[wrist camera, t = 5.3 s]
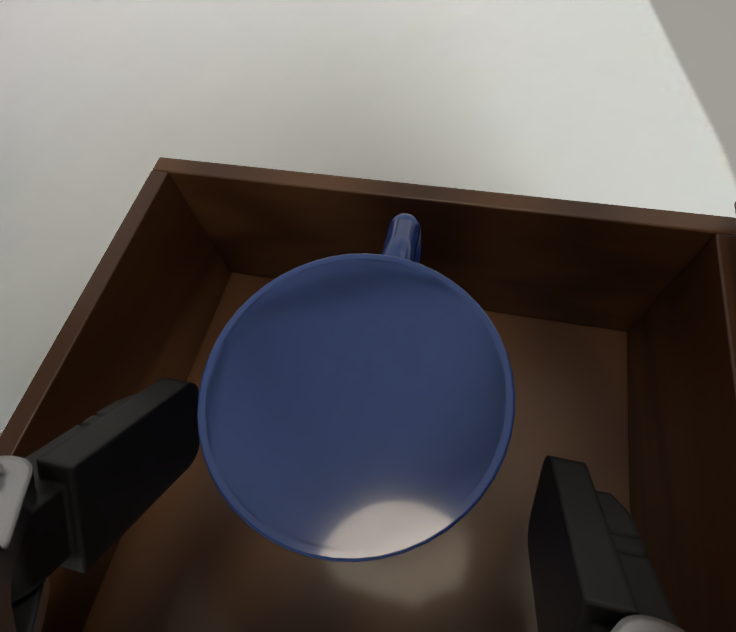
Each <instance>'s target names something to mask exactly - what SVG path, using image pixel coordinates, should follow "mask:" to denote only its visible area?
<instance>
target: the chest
mask: <svg viewBox="0 0 736 632" xmlns="http://www.w3.org/2000/svg"><path fill="white" fill-rule="evenodd" d="M400 213H409V214H412V215H413V216H415V217H416V218H417V219H418V221H419V223H420V227H421V258H420V264H422V265H424V266H426V267H428V268H431V269H433V270H435V271H437V272H439V273H440V274H442V275H444V276H445V277H447V278H449V279H450V280H452V281H453V282H454V283H456V284H457V285H458V286H460V287H461V288H462V289H464V290H465V291H466V292H467V293H468V294H469V295H470V296H471V297H472V298H473V299H474V300H475V301H476V302H477V303H478V304H479V305H480V306H481V308H482V309H483V310H484V312H485V313H486V314H487V316H488V317H489V318H490V319H491V321H492V323H493V324H494V326H495V328H496V330H497V331H498V333H499V335H500V337H501V339H502V341H503V344H504V346H505V349H506V351H507V353H508V357H509V360H510V364H511V368H512V372H513V378H514V386H515V418H514V424H513V430H512V436H511V440H510V443H509V446H508V449H507V452H506V456H505V458H504V460H503V462H502V465H501V467H500V469H499V471H498V473H497V475H496V477H495V479H494V480H493V482H492V483H491V485H490V486H489V488H488V489H487V491H486V492H485V494H484V495H483V497H482V498H481V499H480V500H479V501H478V503H477V504H476V505H475V506H474V507H473V508H472V509H471V510H470V512H469V513H468V514H467V515H466V516H465V517H464V518H463V519H462V520H460V521H459V522H458V523H457V524H456V525H454V526H453V527H452V528H451V529H450V530H449V531H447V532H446V533H444V534H443V535H442V536H441V537H439V538H438V539H437V540H436V541H435V542H434V543H432V544H431V545H429V546H428V547H426V548H424V549H423V550H421V551H419V552H417V553H414V554H412V555H410V556H406V557H403V558H399V559H393V560H377V561H369V562H360V563H358V562H332V561H326V560H321V559H315V558H310V557H306V556H303V555H301V554H298V553H295V552H292V551H289V550H286V549H284V548H282V547H280V546H279V545H277V544H275V543H273V542H271V541H269V540H267V539H265V538H264V537H263V536H261V535H260V534H259V533H257V532H256V531H255V530H253V529H252V528H251V527H249V526H248V525H247V524H246V523H245V522H244V521H243V520H242V519H241V518H240V517H239V516H238V515H237V514H236V513H235V512H234V511H233V510H232V509H231V507H230V506H229V505H228V503H227V502H226V501H225V499H224V498H223V497H222V495H221V494H220V493H219V491H218V489H217V487H216V485H215V483H214V481H213V479H212V477H211V476H210V474H209V471H208V468H207V465H206V462H205V460H204V457H203V454H202V449H201V444H200V445H199V450H198V453H197V456H196V458H195V460H194V461H193V463H192V464H191V466H190V467H189V468H188V469H187V470H186V471H185V472H184V473H183V474H182V475H181V476H180V477H179V478H178V479H177V480H176V481H175V482H174V483H173V484H172V485H171V486H170V487H169V488H168V489H167V490H166V491H165V492H164V493H163V494H162V495H161V496H160V497H159V498H158V499H157V500H156V501H155V503H154V504H153V505H152V506H151V507H150V508H149V509H148V510H147V511H146V512H145V513H144V514H143V515H142V516H141V517H140V518H139V519H138V520H137V521H136V522H135V523H134V524H133V525H132V526H131V527H130V528H129V529H128V530H127V531H126V532H125V533H124V534H123V535H122V536H121V537H120V538H119V539H118V540H117V541H116V542H115V543H114V544H113V545H112V546H111V547H110V548H109V549H108V550H107V551H106V552H105V553H104V554H103V555H102V556H101V557H100V558H99V559H98V560H97V561H96V562H95V563H94V564H93V565H92V566H91V567H90V568H89V569H88V570H87V572H86V573H85V574H84V573H80V572H77V571H74V570H70V569H67V568H64V567H60V566H59V567H58V568H57V569H56V570H55V571H54V572H53V573H52V574H51V575H50V576H49V578H50V585H51V587H50V594H49V599H48V604H47V609H46V614H45V619H44V624H43V629H42V632H538V627H537V619H536V611H535V602H534V594H533V586H532V578H531V570H530V561H529V553H528V526H529V519H530V514H531V510H532V506H533V502H534V498H535V493H536V489H537V485H538V481H539V477H540V473H541V469H542V465H543V462H544V459H545V457H546V456H547V455H549V456H554V457H559V458H564V459H569V460H574V461H579V462H584V463H586V465H587V467H588V469H589V472H590V475H591V478H592V481H593V483H594V486H595V489H596V491H601V492H606V493H611V494H612V495H613V496H614V497H615V498H616V499H617V500H618V501H619V502H620V503H621V504H622V505H623V506H624V507H625V508H626V510H627V511H628V512H629V513H630V514H631V516H632V518H633V520H634V523H635V525H636V527H637V530H638V532H639V534H640V539H641V540H642V541H643V543H644V546H645V548H646V550H647V553H648V558H650V560H651V562H652V564H653V566H654V569H655V571H656V573H657V576H658V578H659V580H660V583H661V585H662V587H663V589H664V592H665V594H666V596H667V599H668V601H669V603H670V606H671V608H672V610H673V613H674V615H675V617H676V619H677V622H678V624H679V626H680V628H681V629H683V630H684V631H686V632H736V218H732V217H722V216H713V215H703V214H694V213H684V212H675V211H665V210H656V209H646V208H637V207H627V206H618V205H608V204H599V203H589V202H580V201H570V200H561V199H551V198H542V197H532V196H523V195H513V194H504V193H494V192H485V191H475V190H466V189H456V188H447V187H437V186H428V185H418V184H409V183H399V182H390V181H380V180H371V179H361V178H352V177H342V176H333V175H323V174H314V173H304V172H295V171H285V170H276V169H266V168H257V167H247V166H238V165H228V164H219V163H209V162H200V161H190V160H181V159H171V158H162V157H161V158H159V160H158V161H157V163H156V165H155V167H154V168H153V171H151V173H150V175H149V177H148V178H147V180H146V182H145V184H144V185H143V187H142V189H141V191H140V192H139V194H138V196H137V198H136V199H135V201H134V203H133V205H132V207H131V208H130V210H129V212H128V214H127V215H126V217H125V219H124V221H123V222H122V224H121V226H120V228H119V229H118V231H117V233H116V235H115V236H114V238H113V240H112V242H111V243H110V245H109V247H108V249H107V250H106V252H105V254H104V256H103V257H102V259H101V261H100V263H99V264H98V266H97V268H96V270H95V271H94V273H93V275H92V277H91V278H90V280H89V282H88V284H87V285H86V287H85V289H84V291H83V292H82V294H81V296H80V298H79V299H78V301H77V303H76V305H75V306H74V308H73V310H72V312H71V313H70V315H69V317H68V319H67V320H66V322H65V324H64V326H63V327H62V329H61V331H60V333H59V335H58V336H57V338H56V340H55V342H54V343H53V345H52V347H51V349H50V350H49V352H48V354H47V356H46V357H45V359H44V361H43V363H42V364H41V366H40V368H39V370H38V371H37V373H36V375H35V377H34V378H33V380H32V382H31V384H30V385H29V387H28V389H27V391H26V392H25V394H24V396H23V398H22V399H21V401H20V403H19V405H18V406H17V408H16V410H15V412H14V413H13V415H12V417H11V419H10V420H9V422H8V424H7V426H6V427H5V429H4V431H3V433H2V434H1V436H0V456H18V457H22V458H25V457H27V456H28V455H30V454H32V453H33V452H35V451H36V450H38V449H40V448H41V447H43V446H44V445H46V444H48V443H49V442H51V441H52V440H54V439H55V438H57V437H59V436H60V435H62V434H63V433H65V432H67V431H68V430H70V429H71V428H73V427H75V426H76V425H81V422H82V421H84V420H86V419H87V418H89V417H90V416H92V415H96V414H97V412H98V411H100V410H102V409H103V408H105V407H106V406H108V405H110V404H111V403H113V402H114V401H117V400H120V399H122V398H125V397H128V396H131V395H134V394H136V393H139V392H141V391H142V390H144V389H145V388H147V387H148V386H150V385H151V384H153V383H155V382H156V381H158V380H159V379H161V378H164V377H166V378H171V379H176V380H181V381H186V382H191V383H195V384H196V385H197V387H198V390H200V385H201V380H202V375H203V372H204V369H205V366H206V363H207V360H208V357H209V355H210V353H211V350H212V348H213V346H214V344H215V342H216V340H217V338H218V337H219V335H220V334H221V332H222V330H223V329H224V327H225V326H226V324H227V323H228V321H229V320H230V319H231V318H232V316H233V315H234V314H235V313H236V311H237V310H238V309H239V308H240V307H241V306H242V305H243V304H244V303H245V302H246V301H247V300H248V299H249V298H250V297H251V296H252V295H253V294H255V293H256V292H257V291H258V290H260V289H261V288H262V287H263V286H265V285H266V284H268V283H269V282H271V281H272V280H274V279H275V278H277V277H279V276H280V275H282V274H284V273H286V272H288V271H290V270H292V269H294V268H296V267H298V266H301V265H304V264H307V263H309V262H312V261H315V260H319V259H323V258H327V257H331V256H338V255H345V254H362V253H369V254H381V253H382V249H383V246H384V242H385V238H386V234H387V230H388V226H389V223H390V221H391V220H392V218H393V217H394V216H396V215H398V214H400Z"/></svg>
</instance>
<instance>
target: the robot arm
mask: <svg viewBox="0 0 736 632" xmlns="http://www.w3.org/2000/svg"><path fill="white" fill-rule="evenodd" d="M198 396H199V390H198V387H197V385H196V384H195V383H191V382H186V381H181V380H176V379H171V378H166V377H164V378H161V379H159V380H158V381H156V382H155V383H153V384H151V385H150V386H148V387H147V388H145V389H144V390H142V391H141V392H139V393H136V394H134V395H131V396H128V397H125V398H122V399H120V400H117V401H114V402H113V403H111V404H110V405H108V406H106V407H105V408H103V409H102V410H100V411H98V412H97V414H96V415H92V416H90V417H89V418H87V419H86V420H84V421H82V422H81V425H76V426H75V427H73V428H71V429H70V430H68V431H67V432H65V433H63V434H62V435H60V436H59V437H57V438H55V439H54V440H52V441H51V442H49V443H48V444H46V445H44V446H43V447H41V448H40V449H38V450H36V451H35V452H33V453H32V454H30V455H28V456H27V457H25V458H22V457H18V456H0V632H42V629H43V624H44V619H45V614H46V609H47V604H48V599H49V594H50V587H51V585H50V578H49V576H50V575H51V574H52V573H53V572H54V571H55V570H56V569H57V568H58V567H59V566H60V567H64V568H67V569H70V570H74V571H77V572H80V573H84V574H85V573H86V572H87V570H88V569H89V568H90V567H91V566H92V565H93V564H94V563H95V562H96V561H97V560H98V559H99V558H100V557H101V556H102V555H103V554H104V553H105V552H106V551H107V550H108V549H109V548H110V547H111V546H112V545H113V544H114V543H115V542H116V541H117V540H118V539H119V538H120V537H121V536H122V535H123V534H124V533H125V532H126V531H127V530H128V529H129V528H130V527H131V526H132V525H133V524H134V523H135V522H136V521H137V520H138V519H139V518H140V517H141V516H142V515H143V514H144V513H145V512H146V511H147V510H148V509H149V508H150V507H151V506H152V505H153V504H154V503H155V501H156V500H157V499H158V498H159V497H160V496H161V495H162V494H163V493H164V492H165V491H166V490H167V489H168V488H169V487H170V486H171V485H172V484H173V483H174V482H175V481H176V480H177V479H178V478H179V477H180V476H181V475H182V474H183V473H184V472H185V471H186V470H187V469H188V468H189V467H190V466H191V464H192V463H193V461H194V460H195V458H196V456H197V453H198V450H199V445H200V439H199V433H198V417H197V411H198ZM528 553H529V561H530V570H531V578H532V586H533V594H534V602H535V611H536V619H537V627H538V632H686V631H684V630H683V629H681V628H680V626H679V624H678V622H677V619H676V617H675V615H674V613H673V610H672V608H671V606H670V603H669V601H668V599H667V596H666V594H665V592H664V589H663V587H662V585H661V583H660V580H659V578H658V576H657V573H656V571H655V569H654V566H653V564H652V562H651V560H650V558H648V553H647V550H646V548H645V546H644V543H643V541H642V540H641V539H640V534H639V532H638V530H637V527H636V525H635V523H634V520H633V518H632V516H631V514H630V513H629V512H628V511H627V510H626V508H625V507H624V506H623V505H622V504H621V503H620V502H619V501H618V500H617V499H616V498H615V497H614V496H613V495H612V494H611V493H606V492H601V491H596V489H595V486H594V483H593V481H592V478H591V475H590V472H589V469H588V467H587V465H586V463H584V462H579V461H574V460H569V459H564V458H559V457H554V456H549V455H547V456H546V457H545V459H544V462H543V465H542V469H541V473H540V477H539V481H538V485H537V489H536V493H535V498H534V502H533V506H532V510H531V514H530V519H529V526H528Z"/></svg>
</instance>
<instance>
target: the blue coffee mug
mask: <svg viewBox="0 0 736 632" xmlns="http://www.w3.org/2000/svg"><path fill="white" fill-rule="evenodd" d="M420 258H421V227H420V223H419V221H418V219H417V218H416V217H415V216H413V215H412V214H409V213H400V214H398V215H396V216H394V217H393V218H392V220H391V221H390V223H389V226H388V230H387V234H386V238H385V242H384V246H383V249H382V253H381V254H369V253H362V254H345V255H338V256H331V257H327V258H323V259H319V260H315V261H312V262H309V263H307V264H304V265H301V266H298V267H296V268H294V269H292V270H290V271H288V272H286V273H284V274H282V275H280V276H279V277H277V278H275V279H274V280H272V281H271V282H269V283H268V284H266V285H265V286H263V287H262V288H261V289H260V290H258V291H257V292H256V293H255V294H253V295H252V296H251V297H250V298H249V299H248V300H247V301H246V302H245V303H244V304H243V305H242V306H241V307H240V308H239V309H238V310H237V311H236V313H235V314H234V315H233V316H232V318H231V319H230V320H229V321H228V323H227V324H226V326H225V327H224V329H223V330H222V332H221V334H220V335H219V337H218V338H217V340H216V342H215V344H214V346H213V348H212V350H211V353H210V355H209V357H208V360H207V363H206V366H205V369H204V372H203V375H202V380H201V385H200V390H199V396H198V411H197V417H198V433H199V439H200V444H201V449H202V454H203V457H204V460H205V462H206V465H207V468H208V471H209V474H210V476H211V477H212V479H213V481H214V483H215V485H216V487H217V489H218V491H219V493H220V494H221V495H222V497H223V498H224V499H225V501H226V502H227V503H228V505H229V506H230V507H231V509H232V510H233V511H234V512H235V513H236V514H237V515H238V516H239V517H240V518H241V519H242V520H243V521H244V522H245V523H246V524H247V525H248V526H249V527H251V528H252V529H253V530H255V531H256V532H257V533H259V534H260V535H261V536H263V537H264V538H265V539H267V540H269V541H271V542H273V543H275V544H277V545H279V546H280V547H282V548H284V549H286V550H289V551H292V552H295V553H298V554H301V555H303V556H306V557H310V558H315V559H321V560H326V561H332V562H358V563H360V562H369V561H377V560H393V559H399V558H403V557H406V556H410V555H412V554H414V553H417V552H419V551H421V550H423V549H424V548H426V547H428V546H429V545H431V544H432V543H434V542H435V541H436V540H437V539H438V538H439V537H441V536H442V535H443V534H444V533H446V532H447V531H449V530H450V529H451V528H452V527H453V526H454V525H456V524H457V523H458V522H459V521H460V520H462V519H463V518H464V517H465V516H466V515H467V514H468V513H469V512H470V510H471V509H472V508H473V507H474V506H475V505H476V504H477V503H478V501H479V500H480V499H481V498H482V497H483V495H484V494H485V492H486V491H487V489H488V488H489V486H490V485H491V483H492V482H493V480H494V479H495V477H496V475H497V473H498V471H499V469H500V467H501V465H502V462H503V460H504V458H505V456H506V452H507V449H508V446H509V443H510V440H511V436H512V430H513V424H514V418H515V386H514V378H513V372H512V368H511V364H510V360H509V357H508V353H507V351H506V349H505V346H504V344H503V341H502V339H501V337H500V335H499V333H498V331H497V330H496V328H495V326H494V324H493V323H492V321H491V319H490V318H489V317H488V316H487V314H486V313H485V312H484V310H483V309H482V308H481V306H480V305H479V304H478V303H477V302H476V301H475V300H474V299H473V298H472V297H471V296H470V295H469V294H468V293H467V292H466V291H465V290H464V289H462V288H461V287H460V286H458V285H457V284H456V283H454V282H453V281H452V280H450V279H449V278H447V277H445V276H444V275H442V274H440V273H439V272H437V271H435V270H433V269H431V268H428V267H426V266H424V265H422V264H420Z"/></svg>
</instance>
